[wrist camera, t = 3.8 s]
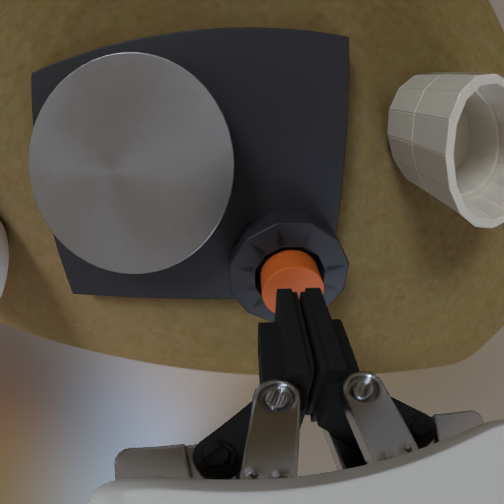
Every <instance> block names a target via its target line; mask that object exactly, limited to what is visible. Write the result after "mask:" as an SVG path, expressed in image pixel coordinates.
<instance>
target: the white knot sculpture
mask: <svg viewBox="0 0 504 504" xmlns="http://www.w3.org/2000/svg"><path fill="white" fill-rule="evenodd" d="M8 265H9V247H8V241H7V235H6V231H5V229H4V226H3V224H2V222H1V221H0V298H1V295H2V293H3V290H4V286H5V282H6V278H7V273H8Z"/></svg>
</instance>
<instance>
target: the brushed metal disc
mask: <svg viewBox="0 0 504 504" xmlns="http://www.w3.org/2000/svg"><path fill="white" fill-rule="evenodd" d="M234 165H235V160H234V147H233V142H232V137H231V133H230V129H229V126H228V123H227V121H226V118H225V115H224V113H223V111H222V109H221V108H220V106H219V104H218V102H217V100H216V99H215V98H214V96H213V95H212V94H211V92H210V91H209V90H208V88H207V87H206V86H205V85H204V84H203V83H202V82H201V81H200V80H199V79H198V78H197V77H196V76H195V75H193V74H192V73H191V72H189V71H188V70H186V69H185V68H184V67H182V66H180V65H178V64H176V63H174V62H172V61H170V60H168V59H166V58H163V57H159V56H156V55H153V54H147V53H140V52H121V53H115V54H110V55H106V56H103V57H100V58H97V59H94V60H92V61H90V62H88V63H86V64H84V65H82V66H80V67H79V68H77V69H76V70H75V71H73V72H72V73H70V74H69V75H68V76H67V77H66V78H65V79H64V80H63V81H61V82H60V83H59V84H58V86H57V87H56V88H55V89H54V90H53V92H52V93H51V94H50V95H49V97H48V98H47V100H46V102H45V103H44V105H43V107H42V109H41V111H40V113H39V115H38V117H37V119H36V122H35V125H34V128H33V131H32V136H31V141H30V147H29V176H30V183H31V188H32V192H33V196H34V199H35V201H36V204H37V207H38V209H39V211H40V213H41V215H42V217H43V219H44V221H45V222H46V224H47V225H48V227H49V228H50V230H51V231H52V232H53V234H54V235H55V236H56V237H57V238H58V240H59V241H60V242H61V243H62V244H63V245H64V246H65V247H66V248H68V249H69V250H70V251H71V252H73V253H74V254H75V255H77V256H78V257H80V258H81V259H83V260H85V261H86V262H88V263H90V264H92V265H95V266H97V267H99V268H102V269H105V270H108V271H113V272H118V273H126V274H144V273H150V272H156V271H160V270H163V269H166V268H169V267H171V266H173V265H175V264H177V263H180V262H181V261H183V260H185V259H186V258H188V257H189V256H191V255H192V254H193V253H194V252H196V251H197V250H198V249H199V248H200V247H201V246H202V245H203V244H204V243H205V242H206V241H207V240H208V239H209V237H210V236H211V235H212V234H213V232H214V231H215V229H216V228H217V226H218V225H219V223H220V221H221V219H222V217H223V215H224V213H225V211H226V208H227V205H228V202H229V199H230V196H231V191H232V185H233V180H234Z"/></svg>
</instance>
